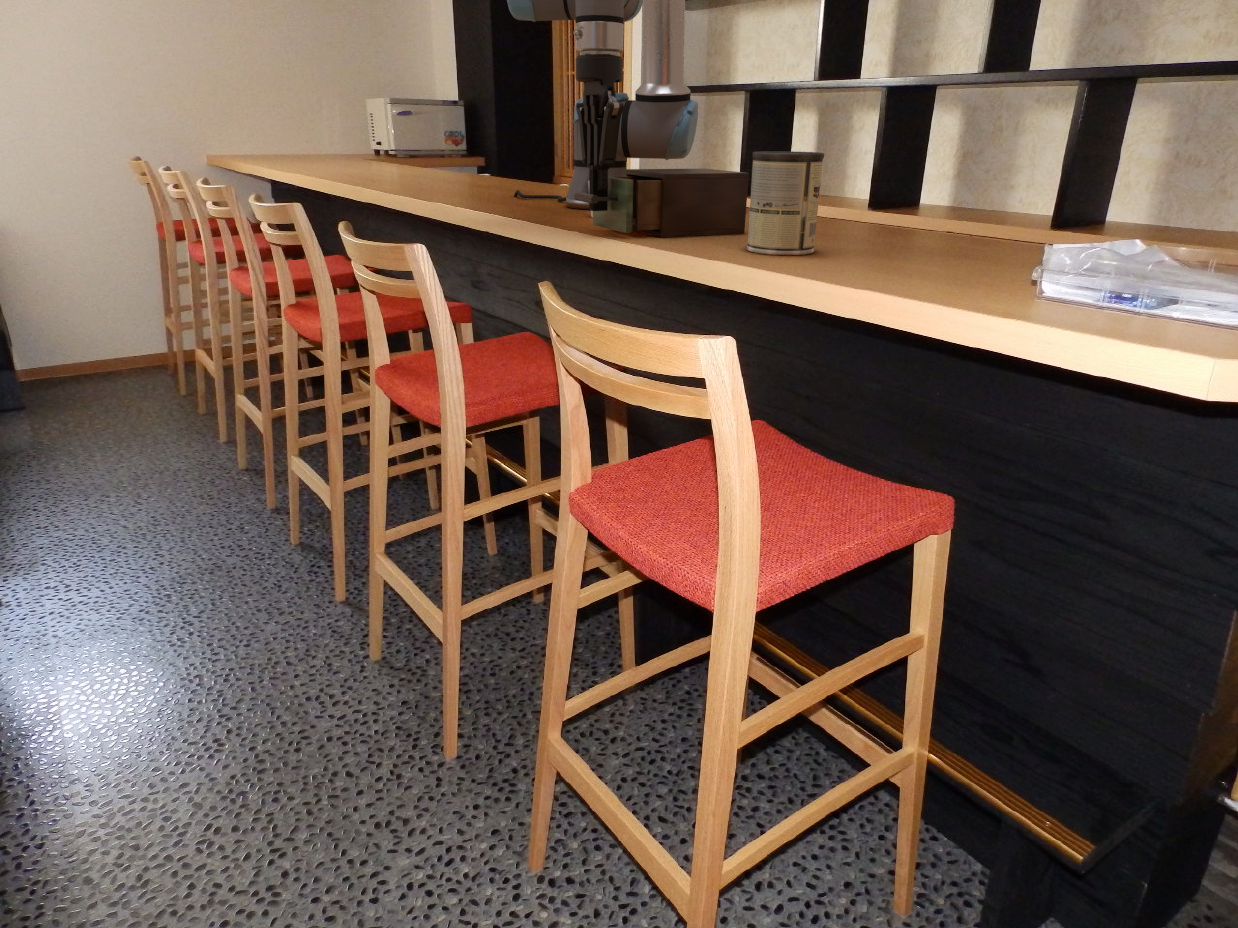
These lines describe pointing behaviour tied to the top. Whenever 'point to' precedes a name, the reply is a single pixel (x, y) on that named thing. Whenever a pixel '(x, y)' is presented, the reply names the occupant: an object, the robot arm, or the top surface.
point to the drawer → (628, 204)
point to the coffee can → (784, 202)
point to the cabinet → (699, 201)
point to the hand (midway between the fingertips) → (598, 210)
